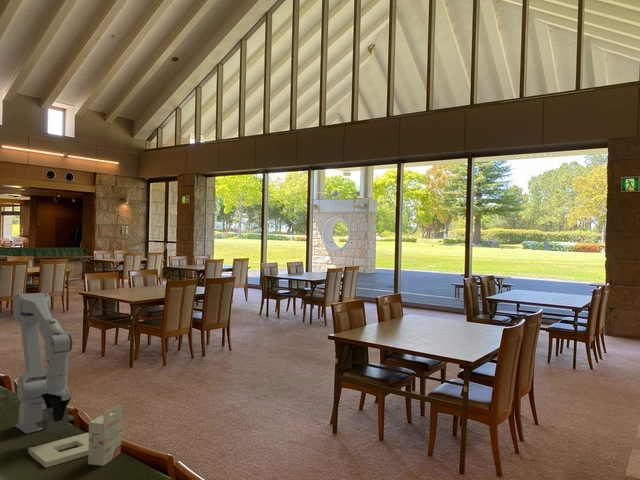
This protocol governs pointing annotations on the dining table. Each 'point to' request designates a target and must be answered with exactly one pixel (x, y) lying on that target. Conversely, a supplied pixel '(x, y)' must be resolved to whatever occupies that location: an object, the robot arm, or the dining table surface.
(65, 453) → the pocket plate
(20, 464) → the dining table surface
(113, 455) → the ink cartridge box
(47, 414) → the servo block
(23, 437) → the dining table surface
